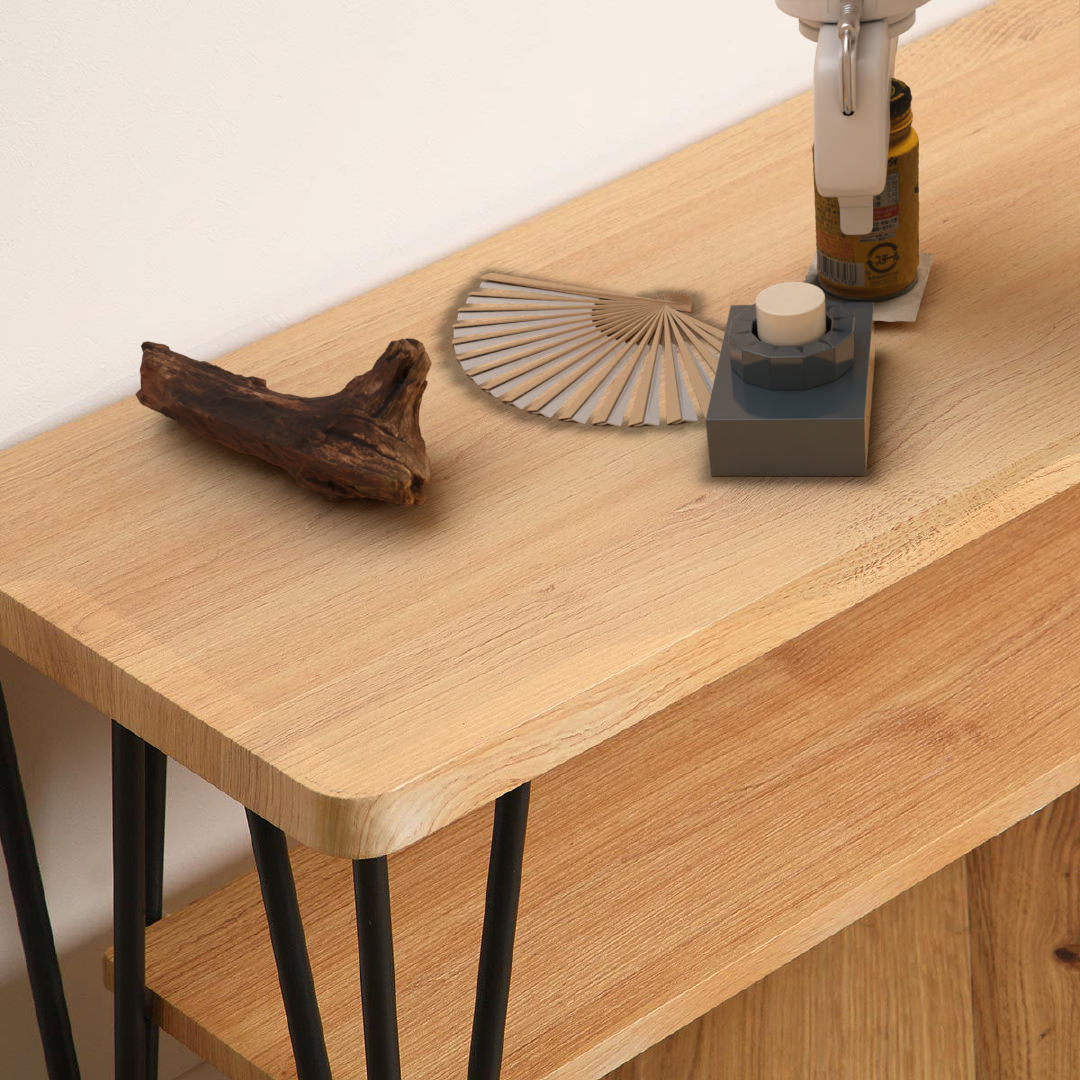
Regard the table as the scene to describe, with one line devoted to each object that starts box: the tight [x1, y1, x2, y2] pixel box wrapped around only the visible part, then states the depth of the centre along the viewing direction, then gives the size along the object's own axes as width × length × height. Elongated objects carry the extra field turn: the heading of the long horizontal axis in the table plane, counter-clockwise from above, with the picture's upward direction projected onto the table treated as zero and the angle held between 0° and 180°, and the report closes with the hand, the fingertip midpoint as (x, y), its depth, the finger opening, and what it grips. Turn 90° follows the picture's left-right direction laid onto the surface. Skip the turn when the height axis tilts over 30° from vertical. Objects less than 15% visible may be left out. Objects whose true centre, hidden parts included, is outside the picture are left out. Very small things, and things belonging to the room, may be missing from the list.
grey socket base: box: [705, 299, 876, 477], centre depth 87 cm, size 8×12×6 cm, turn 168°
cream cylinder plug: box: [754, 281, 826, 346], centre depth 85 cm, size 4×4×2 cm
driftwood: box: [135, 337, 433, 508], centre depth 89 cm, size 23×8×8 cm, turn 57°
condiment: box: [803, 77, 935, 323], centre depth 94 cm, size 7×8×12 cm
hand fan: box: [451, 272, 725, 427], centre depth 97 cm, size 26×1×15 cm
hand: (860, 200), depth 95 cm, fingers closed on condiment, 6 cm apart
